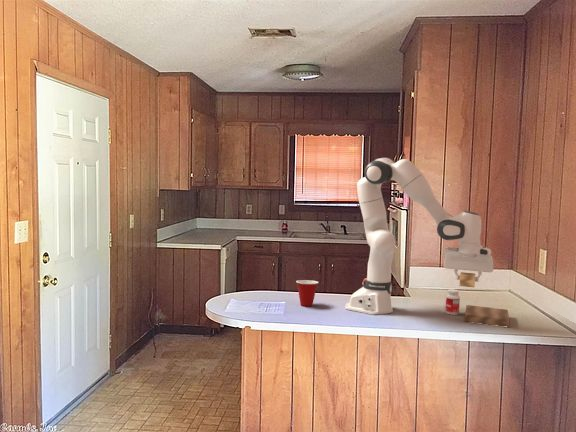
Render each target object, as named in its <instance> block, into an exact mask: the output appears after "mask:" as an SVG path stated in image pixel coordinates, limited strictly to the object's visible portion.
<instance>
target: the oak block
mask: <svg viewBox="0 0 576 432" xmlns="http://www.w3.org/2000/svg"><path fill="white" fill-rule="evenodd" d="M459 275H460V280H459V287H464V288H465V287H466V288H475V286H476V281H475V277H476V273H475V272H463V271H462V272H460V274H459Z"/></svg>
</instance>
